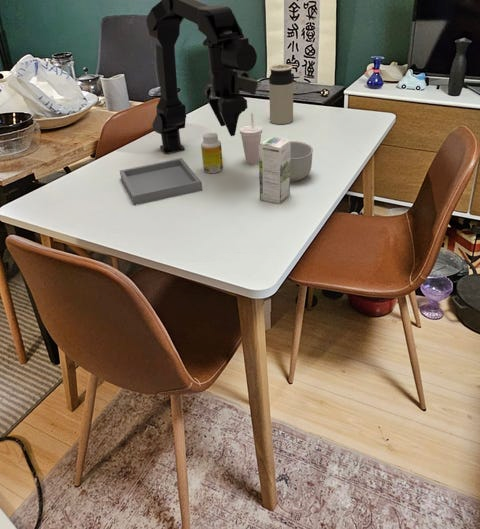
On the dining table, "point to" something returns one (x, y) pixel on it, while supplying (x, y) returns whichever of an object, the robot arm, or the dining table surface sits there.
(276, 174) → the syrup box
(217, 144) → the supplement bottle
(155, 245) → the dining table surface
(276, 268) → the dining table surface
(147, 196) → the tray
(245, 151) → the smoothie
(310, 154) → the teacup
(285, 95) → the travel mug
